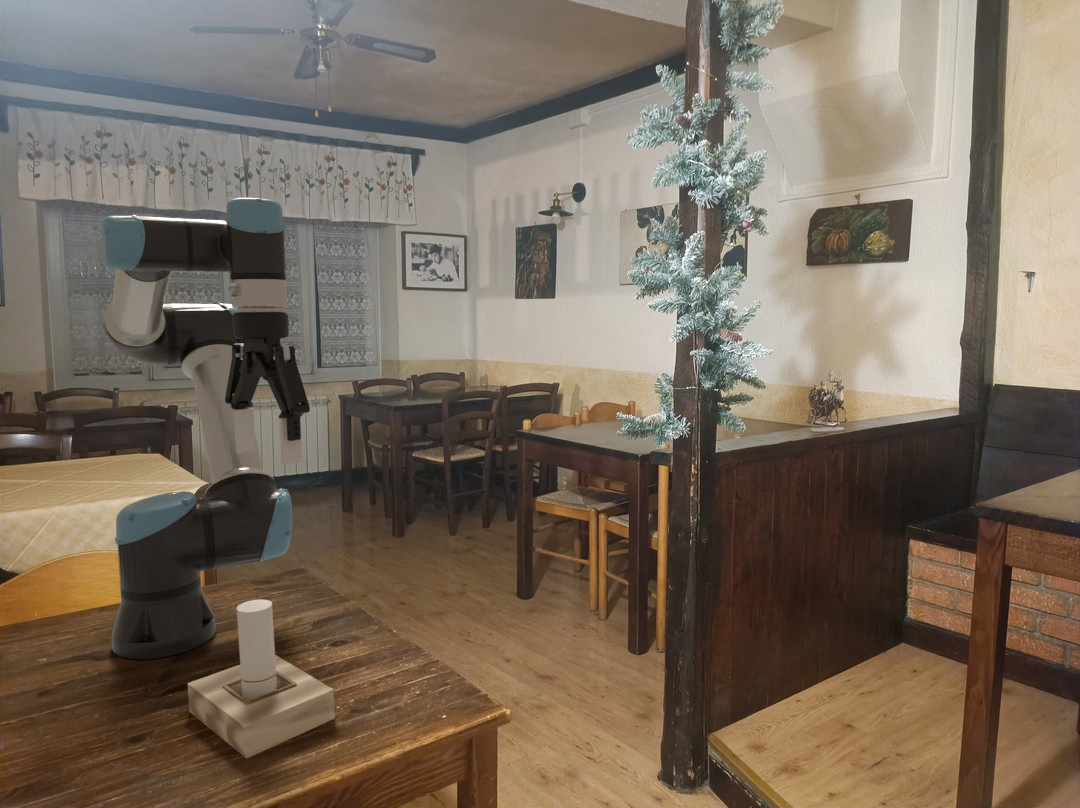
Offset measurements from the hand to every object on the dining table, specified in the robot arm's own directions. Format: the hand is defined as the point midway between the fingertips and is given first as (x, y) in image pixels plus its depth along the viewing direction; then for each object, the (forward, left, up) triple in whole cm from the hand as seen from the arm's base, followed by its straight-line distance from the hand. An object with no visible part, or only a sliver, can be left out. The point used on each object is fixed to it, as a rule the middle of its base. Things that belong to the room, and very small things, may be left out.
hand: (267, 457), depth 111 cm
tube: (+12, -9, -32) cm, 35 cm away
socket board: (+12, -9, -32) cm, 35 cm away
